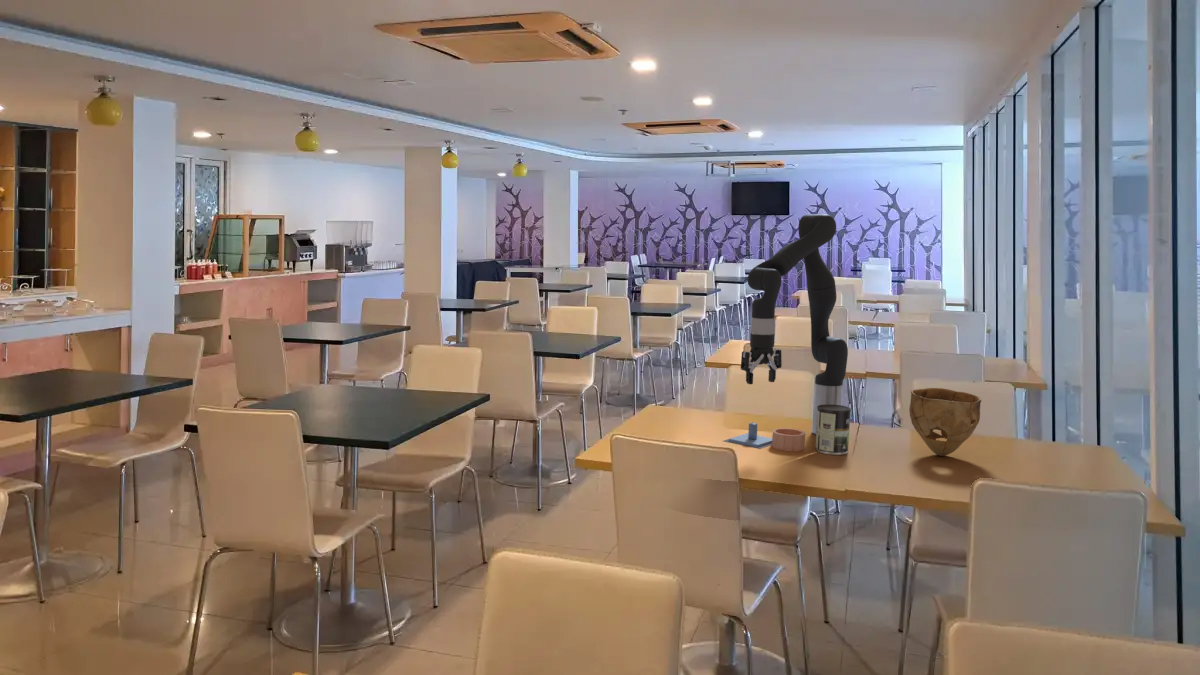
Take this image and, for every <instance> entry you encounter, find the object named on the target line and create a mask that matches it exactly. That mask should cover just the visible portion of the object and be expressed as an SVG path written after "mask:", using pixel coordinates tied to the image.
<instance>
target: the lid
mask: <svg viewBox="0 0 1200 675" xmlns="http://www.w3.org/2000/svg"><path fill="white" fill-rule="evenodd" d="M758 426H759V425H758V423H757V422H749V423H748V432H747V433H743V434H740V435H737V436H734V437H733V436H732V437H730V438H728V439H729V441H731V442H735V443H740V444H745V445H750V446H754V447H760V446H763V445H767V444H770V443H772V438H771V437H767V436H763V435H758Z"/></svg>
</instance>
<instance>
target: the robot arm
mask: <svg viewBox="0 0 1200 675" xmlns="http://www.w3.org/2000/svg"><path fill="white" fill-rule="evenodd" d="M797 230H798V237H799V238H798V239H796V240H794V241H791V242H790V243H788V244H786V245H784V246H783V247H782V248H780V249H779V250H778V251H776V253H775V254H774V255H773V256H772V257H770V258H769V259H766V260H764V261H762V262H761V263H759V264H758V265H756V266H755V267H753V268H752V269H751V270H750V271H749V273H748V275H747V285H748V287H749V288H750V289H752V290H755V291H762V292H763V295H762V297H759V298H755V299H754V300H753V301H752V303H751V304H752V306H751V322H750V333H749V334H750V335H749V346H750V351H745V350H743V351H742V352H741V360H740V370H741V371H745V382H746V384H747V385H753V384H754V370H755V369H756V368H758V366H759V365H767V367H768V382H769V383H775V381H776V379H777V378H776V377H777V376H776V375H777V370H778V369H781V368H782V364H783V363H782V349H780V348H779V349H778V348H774V347H775V334H776V324H775V321H776V320H775V314H776V309H775V308H776V303H777V300H778V296H779V294H780V291H781V290H780V289H781V286H782V280H783V279H782V277H784V276H786V275H787V274H788V273H789V272H791V270H792V269H793V268H794V267H796V266H797V264H799V262H801V261H802V260H803V262H804V270H805V276H806V288H807V297H808V304H809V315H810V316H809V318H810V335H811V340H810V347H811V348H810V349H811V354H812V357H813V359H814V360H815V361H816V362H818V363H820V364H821V363H822V364H826V365H825V369H824V370H825V371H822V372H821V373H817V374H816V375H815V377H814V395H813V409H812V411H813V412H812V426H811V432H812V434H814V435H816V431H817V413H818V409H817V406H819V405H826V404H831V405H841V406H842V405H843V404H842V402H843V401H842V400H843V388H844V387H843V386H844V385H843V383H844V379H845V376H846V374H847V373H846V372H847V365H848V364H847V363H848V355H849V352H848V350H849V349H848V345H847V342H846V341H845V340H844V339H842V338H838V337H834V336H830V331H829V329H830V328H829V319H830V316H831V314H832V312H833V310H834V308H835V306H836V305H835V304H836V302H837V288H836V280H835V277H834V275H833V273H832V272H831V270H830V268H829V267H828V266H827V264H826V262H825V261H824V260H823V258H822V256H821V253H820V250H819V249H820V247H822V246H823V245H825V244H828V243H829V242H830V241H831V240H832V239H833V238H834V237H835V235H836V231H837V222H836V220H835V218H834V217H833V216H832V215H831V214H830V215H829V214H825V213H822V214H821V213H819V214H816V213H815V214H804V215H803V216H801V218H800V219H799V222H798V229H797ZM772 357H773V358H772Z"/></svg>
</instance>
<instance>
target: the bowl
mask: <svg viewBox="0 0 1200 675" xmlns="http://www.w3.org/2000/svg"><path fill="white" fill-rule="evenodd" d="M910 393H911V394H910V404H909V411H908V412H909V418H910V420H911V424H912V426H913V428H914V430H915V431H916V433H917V434H918V435H919V436H920V438H921V439H922V441H923V442H924V443H925V445H926V446H927V447H928V449H929V450H930V451H931V452H932V453H934V454H935V455H937V456H938V455H939V456H938V457H944V456H948V455H950V454H952V453H954V452H955V451H957V450H958V449H959V448H960V446H962V444H963V443H964V442H965V441H967V440H968V439H969V438H970V437H971V436H972V434H973V433H974V432H975V429H976V428H977V426H978V424H979V423H980V419H981V402H982V398H981V397H980V396H979V395H976V394H972V393H969V392H964V391H957V390H952V389H948V388H944V387H925V388H917V389H912V390H910ZM934 430H935V431H936V430H938V431H940V433H941V434H939V433H937V432H935V431H934ZM939 439H945V440H939Z"/></svg>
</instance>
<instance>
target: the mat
mask: <svg viewBox="0 0 1200 675" xmlns="http://www.w3.org/2000/svg"><path fill="white" fill-rule="evenodd" d="M723 442H725V443H729V444H734V445H739V446H743V447H748V448H752V449H757V450H762V449H765V448H767V447H772V443H770V444H767V445H763V446H760V447H754V446H750V445H745V444H740V443H735V442H731V441H729V438H728V439H724V440H723Z"/></svg>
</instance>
